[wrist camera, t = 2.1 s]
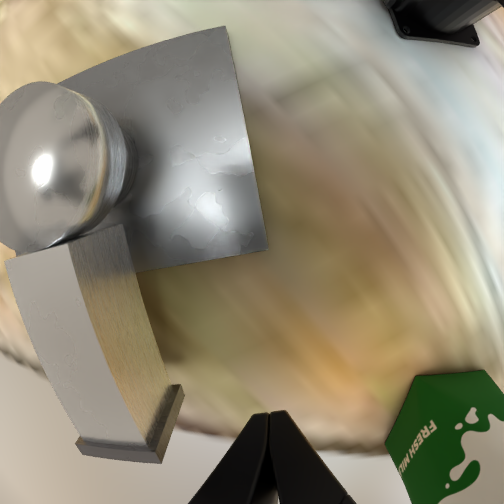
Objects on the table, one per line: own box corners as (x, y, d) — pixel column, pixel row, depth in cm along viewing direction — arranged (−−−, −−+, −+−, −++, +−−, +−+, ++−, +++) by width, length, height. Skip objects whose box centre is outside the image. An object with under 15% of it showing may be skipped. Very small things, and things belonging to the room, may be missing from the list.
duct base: (227, 33, 14) (209, -34, 8) (268, 245, 17) (271, 286, 10) (3, 122, 15) (-63, 115, 9) (32, 287, 18) (-30, 323, 11)
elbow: (30, 128, 13) (-38, 120, 8) (130, 85, 12) (72, 48, 7) (104, 396, 16) (68, 451, 11) (202, 394, 16) (182, 464, 11)
